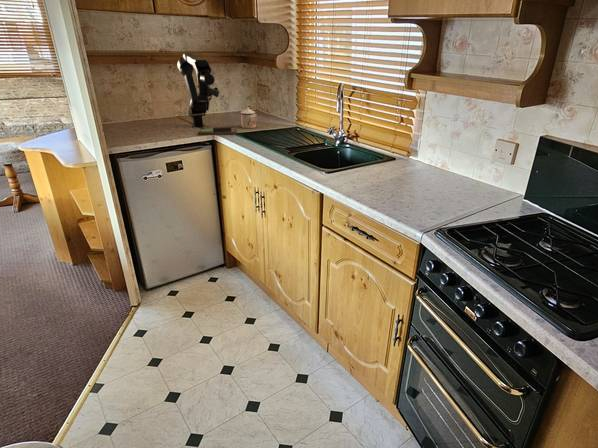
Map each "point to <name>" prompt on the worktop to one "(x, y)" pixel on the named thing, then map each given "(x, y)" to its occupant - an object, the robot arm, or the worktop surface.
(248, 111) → the teacup with lid
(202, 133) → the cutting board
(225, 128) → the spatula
